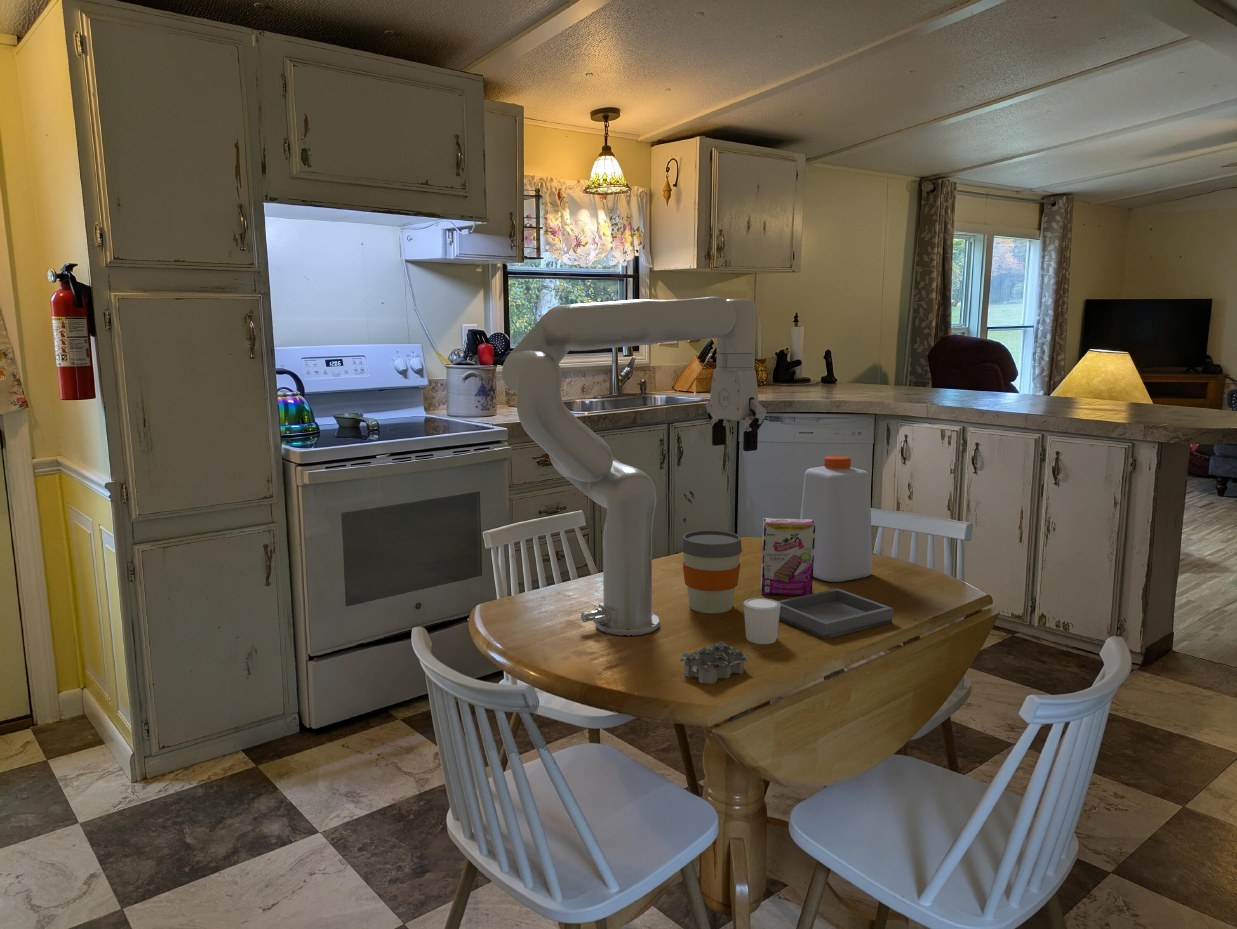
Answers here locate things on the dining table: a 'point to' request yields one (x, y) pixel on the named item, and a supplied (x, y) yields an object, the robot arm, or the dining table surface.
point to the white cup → (761, 620)
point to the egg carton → (722, 668)
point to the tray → (833, 613)
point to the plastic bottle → (839, 519)
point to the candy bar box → (787, 556)
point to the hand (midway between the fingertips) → (734, 447)
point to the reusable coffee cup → (711, 569)
